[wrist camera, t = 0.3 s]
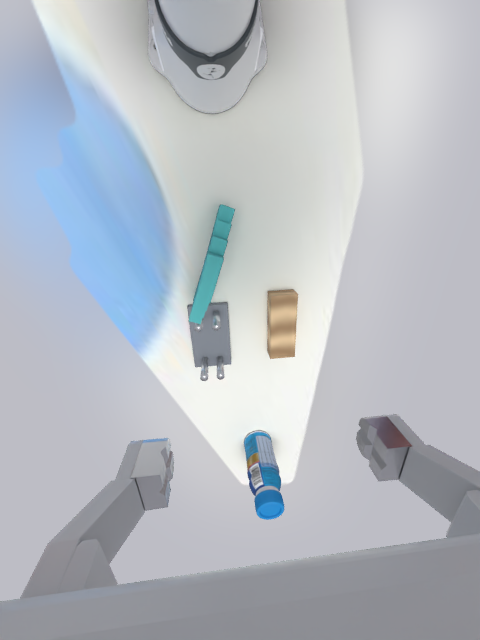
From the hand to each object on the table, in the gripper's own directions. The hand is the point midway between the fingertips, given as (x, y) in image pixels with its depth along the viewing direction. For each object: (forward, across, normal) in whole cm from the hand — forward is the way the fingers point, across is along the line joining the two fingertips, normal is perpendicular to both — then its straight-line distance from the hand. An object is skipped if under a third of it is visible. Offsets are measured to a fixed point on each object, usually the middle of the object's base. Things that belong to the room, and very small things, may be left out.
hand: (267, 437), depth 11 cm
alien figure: (+48, +3, 0) cm, 48 cm away
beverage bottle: (+48, -6, +55) cm, 73 cm away
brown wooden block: (+48, -12, +16) cm, 52 cm away
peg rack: (+47, +5, +18) cm, 51 cm away
